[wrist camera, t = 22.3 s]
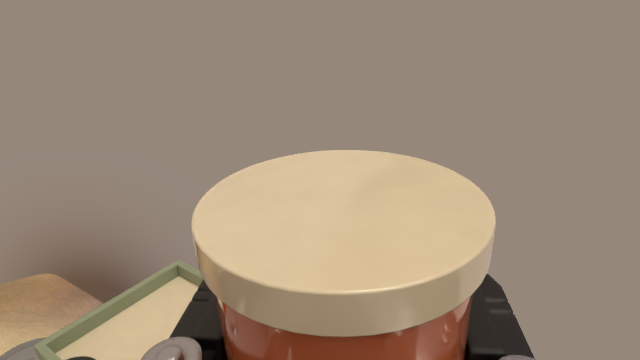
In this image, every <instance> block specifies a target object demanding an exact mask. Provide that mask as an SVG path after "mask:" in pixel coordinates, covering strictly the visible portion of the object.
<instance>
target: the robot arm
mask: <svg viewBox="0 0 640 360" xmlns="http://www.w3.org/2000/svg"><path fill="white" fill-rule="evenodd" d="M67 360H96V359H94V358H92V357H87V356H79V357H73V358H69V359H67ZM141 360H227V358H226V353H225V347H224V341H223V336H222V330H221V325H220V319H219V313H218V308H217V302H216V297H215V294H214V293H213V292H212V291H211V290H210V289H209V288H208V286H207V284H206V283H205V281H204V280H202V282H201V284H200V285H199V287H198V291H196V292H195V294H194V296H193V298H192V301H190V303H189V304H188V306H187V308H186V310H185V311H184V313H183V315H182V317H181V318H180V320H179V322H178V323H177V325H176V327H175V329H174V330H173V332H172V334H171V335H170V337H169V339H166V340H163V341H161V342H159V343H157V344H156V345H154V346H153V347H151V348H150V349H149V350H148V351H147V352H146V353H145V354H144V356H143V357H142V359H141ZM464 360H536V359H534V356H533V354H532V352H531V350H530V348H529V346H528V343H527V341H526V339H525V337H524V335H523V332H522V330H521V328H520V326H519V324H518V322H517V319H516V317H515V315H513V311H512V309H511V306H510V304H509V303H508V300H507V298H506V295H505V293H504V291H503V289H502V287H501V286H500V285H499V284H498V283H497V282H496V281H495V280H494V279H493V278H492V277H491V276H489V275H488V274H486V276H485V278H484V280H483V281H482V283H481V284H480V286H479V287H478V288H477V289H476V290H475V292H474V293H473V300H472V307H471V314H470V322H469V329H468V336H467V343H466V350H465V358H464Z"/></svg>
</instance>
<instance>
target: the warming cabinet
mask: <svg viewBox="0 0 640 360" xmlns="http://www.w3.org/2000/svg"><path fill="white" fill-rule="evenodd" d="M202 280H203V278H202V276H201V273H200V271H198V270H196V269H195V268H193V267H191V266H189V265H187V264H185V263H183V262H181V261H179V260H177V261H175V262H174V263H172V264H170V265H169V266H167V267H165V268H164V269H162V270H160V271H159V272H157V273H155V274H153V275H152V276H150V277H149V278H147V279H145V280H143V281H142V282H140V283H138V284H137V285H135V286H133V287H132V288H130V289H128V290H127V291H125V292H123V293H122V294H120V295H118V296H116V297H115V298H113V299H111V300H110V301H108V302H106V303H105V304H103V305H101V306H100V307H98V308H96V309H94V310H93V311H91V312H89V313H88V314H86V315H84V316H83V317H81V318H79V319H78V320H76V321H74V322H73V323H71V324H69V325H67V326H66V327H64V328H62V329H61V330H59V331H57V332H56V333H54V334H52V335H51V336H49V337H47V338H46V339H44V340H42V341H40V342H39V343H37V344H35V345H34V346H33V347H34V349H35V352H36V354H37V356H38V358H39V360H67V359H69V358H73V357H79V356H87V357H92V358H94V359H96V360H141V359H142V357H143V356H144V354H145V353H146V352H147V351H148V350H149V349H150V348H151V347H153V346H154V345H156V344H157V343H159V342H161V341H163V340H166V339H169V337H170V335H171V334H172V332H173V330H174V329H175V327H176V325H177V323H178V322H179V320H180V318H181V317H182V315H183V313H184V311H185V310H186V308H187V306H188V304H189V303H190V301H192V298H193V296H194V294H195V292H196V291H198V287H199V285H200V284H201V282H202Z"/></svg>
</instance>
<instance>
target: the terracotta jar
mask: <svg viewBox="0 0 640 360" xmlns="http://www.w3.org/2000/svg"><path fill="white" fill-rule="evenodd" d="M495 227H496V219H495V213H494V210H493V207H492V204H491V202H490V201H489V199H488V198H487V196H486V195H485V194H484V193H483V191H482V190H481V189H479V187H478V186H476V185H475V184H473V183H472V182H471V181H470V180H468V179H467V178H465V177H464V176H462V175H460V174H458V173H456V172H454V171H452V170H450V169H448V168H446V167H443V166H440V165H438V164H435V163H432V162H429V161H425V160H422V159H418V158H414V157H409V156H405V155H399V154H393V153H386V152H377V151H364V150H331V151H318V152H309V153H301V154H295V155H290V156H285V157H280V158H276V159H272V160H268V161H265V162H262V163H258V164H255V165H253V166H250V167H247V168H245V169H243V170H241V171H238V172H236V173H234V174H232V175H231V176H228V177H227V178H225V179H223V180H222V181H220V182H219V183H217V184H216V185H215V186H213V187H212V188H211V189H210V190H209V191H208V192H207V193H206V194H204V196H203V197H202V198H201V200H200V201H199V202H198V204H197V206H196V208H195V210H194V212H193V217H192V221H191V229H192V237H193V242H194V247H195V252H196V257H197V262H198V266H199V270H200V273H201V276H202V278H203V280H204V281H205V283H206V284H207V286H208V288H209V289H210V290H211V291H212V292H213V293H214V294H215V297H216V302H217V308H218V313H219V319H220V325H221V330H222V336H223V341H224V347H225V353H226V358H227V360H464V358H465V350H466V343H467V336H468V329H469V322H470V314H471V307H472V300H473V293H474V292H475V290H476V289H477V288H478V287H479V286H480V284H481V283H482V281H483V280H484V278H485V276H486V274H487V272H488V268H489V264H490V260H491V253H492V246H493V240H494V233H495Z"/></svg>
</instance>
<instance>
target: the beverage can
mask: <svg viewBox="0 0 640 360" xmlns="http://www.w3.org/2000/svg"><path fill="white" fill-rule="evenodd" d="M44 339H46V338H39V339H34V340H31V341H28V342H25V343H22V344H20V345H18V346H16V347H14V348H12V349H11V350H9V351H7V352H6V353H4V354H3V355H2V356H0V360H39V358H38V356H37V354H36V352H35V349H34V347H33V346H34V345H35V344H37V343H39V342H40V341H42V340H44Z"/></svg>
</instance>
